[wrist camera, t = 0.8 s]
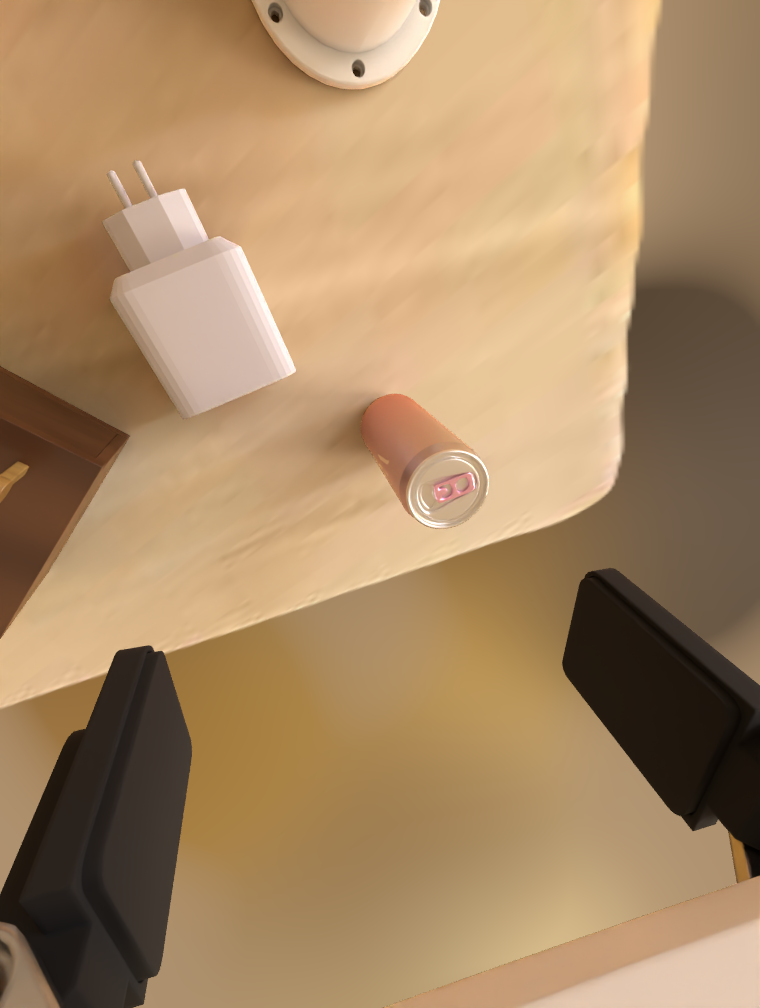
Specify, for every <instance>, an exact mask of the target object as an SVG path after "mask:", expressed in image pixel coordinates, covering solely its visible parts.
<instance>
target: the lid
mask: <svg viewBox="0 0 760 1008" xmlns="http://www.w3.org/2000/svg"><path fill="white" fill-rule="evenodd" d="M104 465H105V463H104V462H102V461H100V460H98V459H96V458H94V457H92V456H90V455H88V454H86V453H84V452H82V451H80V450H78V449H76V448H74V447H72V446H70V445H68V444H66V443H64V442H62V441H60V440H58V439H56V438H54V437H52V436H50V435H48V434H46V433H44V432H42V431H40V430H38V429H36V428H34V427H32V426H30V425H28V424H26V423H24V422H22V421H20V420H18V419H16V418H14V417H12V416H10V415H8V414H6V413H4V412H2V411H0V639H1V637H2V636H3V635H4V633H5V631H6V630H7V628H8V626H9V625H10V623H11V621H12V620H13V618H14V616H15V615H16V613H17V611H18V610H19V608H20V606H21V605H22V603H23V601H24V600H25V598H26V596H27V595H28V593H29V591H30V590H31V588H32V586H33V585H34V583H35V581H36V579H37V578H38V576H39V574H40V573H41V571H42V569H43V568H44V566H45V564H46V563H47V561H48V559H49V558H50V556H51V554H52V553H53V551H54V549H55V548H56V546H57V544H58V543H59V541H60V539H61V538H62V536H63V534H64V533H65V531H66V529H67V527H68V526H69V524H70V522H71V521H72V519H73V517H74V516H75V514H76V512H77V511H78V509H79V507H80V506H81V504H82V502H83V501H84V499H85V497H86V496H87V494H88V492H89V491H90V489H91V487H92V486H93V484H94V482H95V481H96V479H97V477H98V476H99V474H100V472H101V470H102V469H103V467H104Z"/></svg>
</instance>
